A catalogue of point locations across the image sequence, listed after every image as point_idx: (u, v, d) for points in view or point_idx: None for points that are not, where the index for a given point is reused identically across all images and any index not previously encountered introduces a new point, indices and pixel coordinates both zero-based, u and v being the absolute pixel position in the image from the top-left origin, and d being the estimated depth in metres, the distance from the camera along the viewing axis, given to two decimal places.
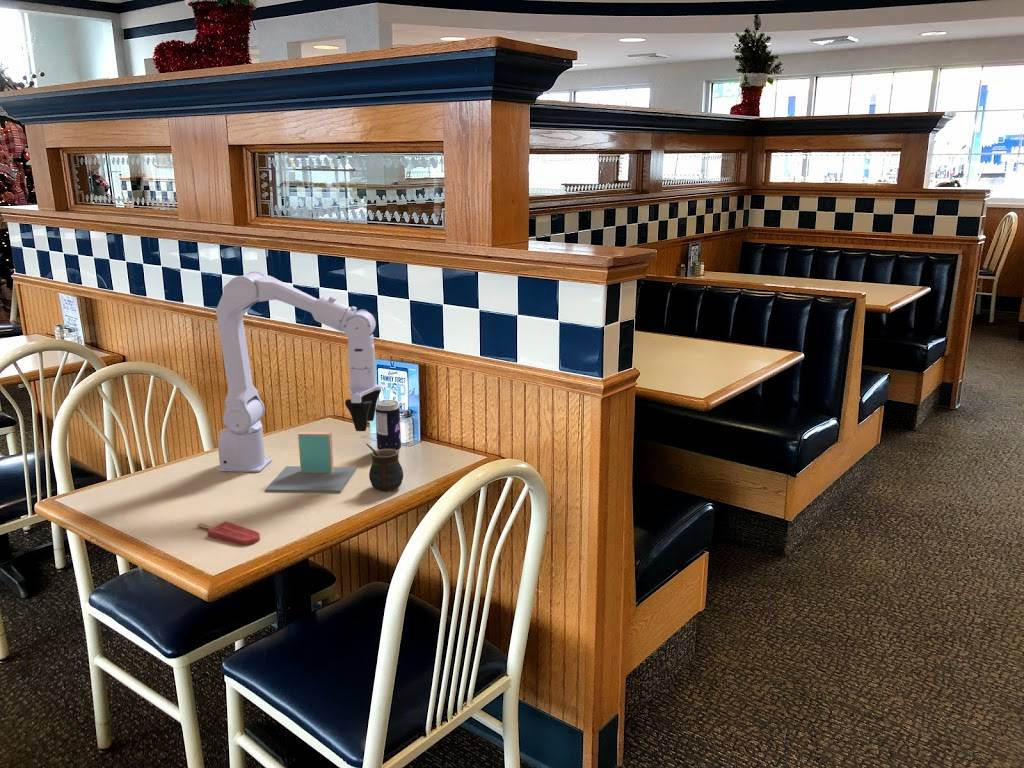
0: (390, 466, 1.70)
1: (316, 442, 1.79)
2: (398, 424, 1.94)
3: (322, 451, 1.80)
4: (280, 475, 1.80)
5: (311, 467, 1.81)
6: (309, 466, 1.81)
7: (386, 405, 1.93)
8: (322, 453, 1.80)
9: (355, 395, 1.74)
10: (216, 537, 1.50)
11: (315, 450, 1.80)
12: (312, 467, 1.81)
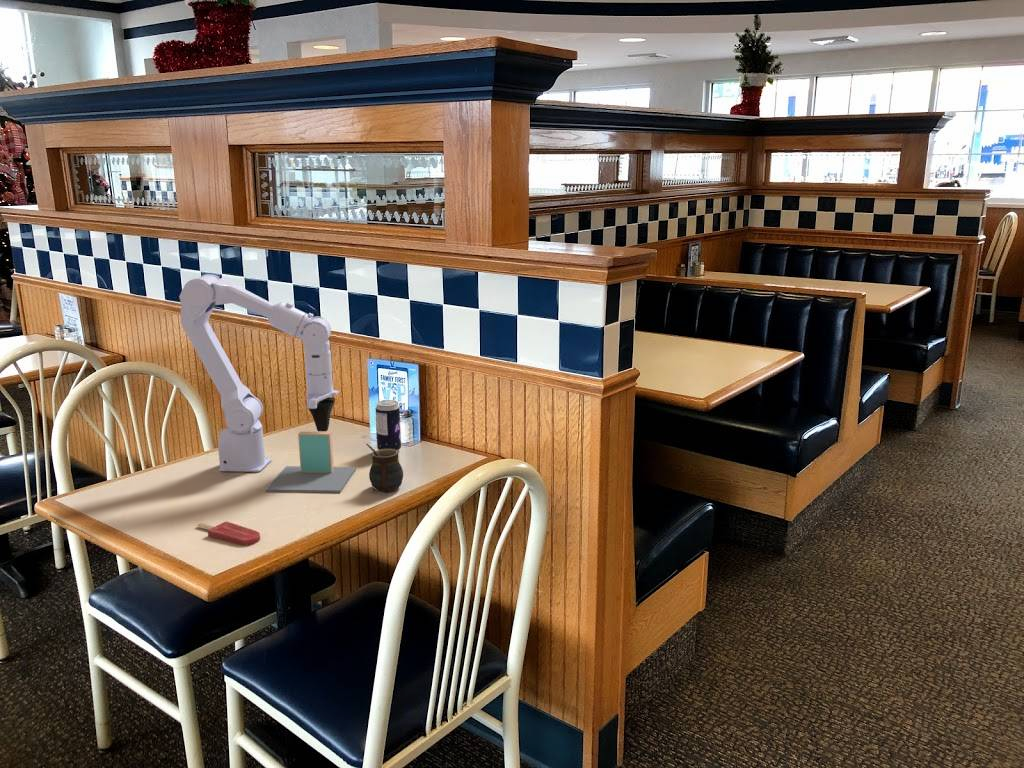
0: (390, 466, 1.70)
1: (316, 442, 1.79)
2: (398, 424, 1.94)
3: (322, 451, 1.80)
4: (280, 475, 1.80)
5: (311, 467, 1.81)
6: (309, 466, 1.81)
7: (386, 405, 1.93)
8: (322, 453, 1.80)
9: (311, 401, 1.77)
10: (216, 537, 1.50)
11: (315, 450, 1.80)
12: (312, 467, 1.81)
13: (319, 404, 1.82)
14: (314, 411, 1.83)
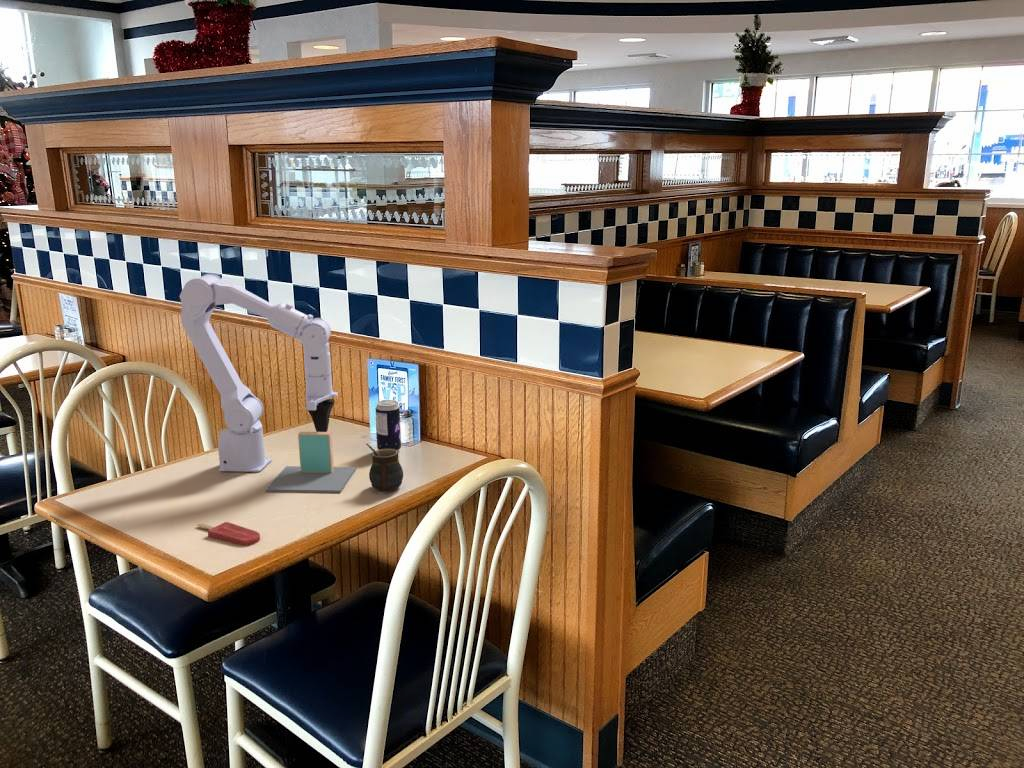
0: (390, 466, 1.70)
1: (316, 442, 1.79)
2: (398, 424, 1.94)
3: (322, 451, 1.80)
4: (280, 475, 1.80)
5: (311, 467, 1.81)
6: (309, 466, 1.81)
7: (386, 405, 1.93)
8: (322, 453, 1.80)
9: (310, 402, 1.76)
10: (216, 537, 1.50)
11: (315, 450, 1.80)
12: (312, 467, 1.81)
13: (318, 406, 1.81)
14: (313, 413, 1.83)
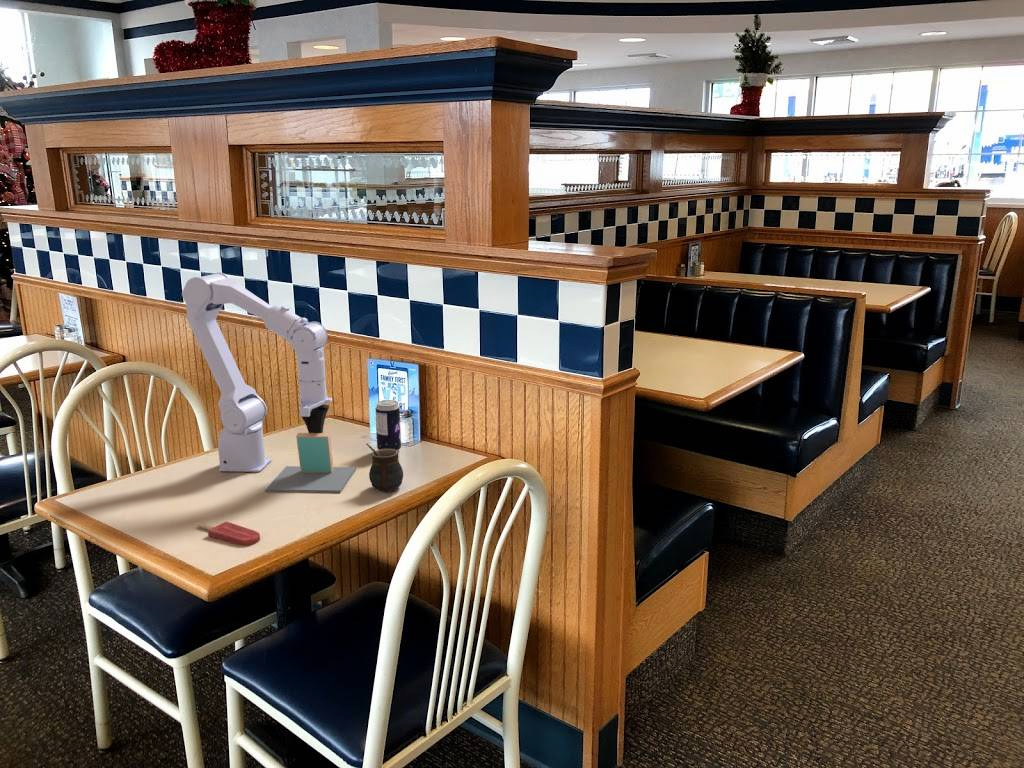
0: (390, 466, 1.70)
1: (315, 444, 1.78)
2: (398, 424, 1.94)
3: (321, 452, 1.79)
4: (280, 475, 1.80)
5: (311, 467, 1.81)
6: (309, 466, 1.81)
7: (386, 405, 1.93)
8: (321, 454, 1.79)
9: (304, 409, 1.72)
10: (216, 537, 1.50)
11: (314, 452, 1.79)
12: (312, 467, 1.81)
13: (312, 412, 1.77)
14: (307, 419, 1.78)
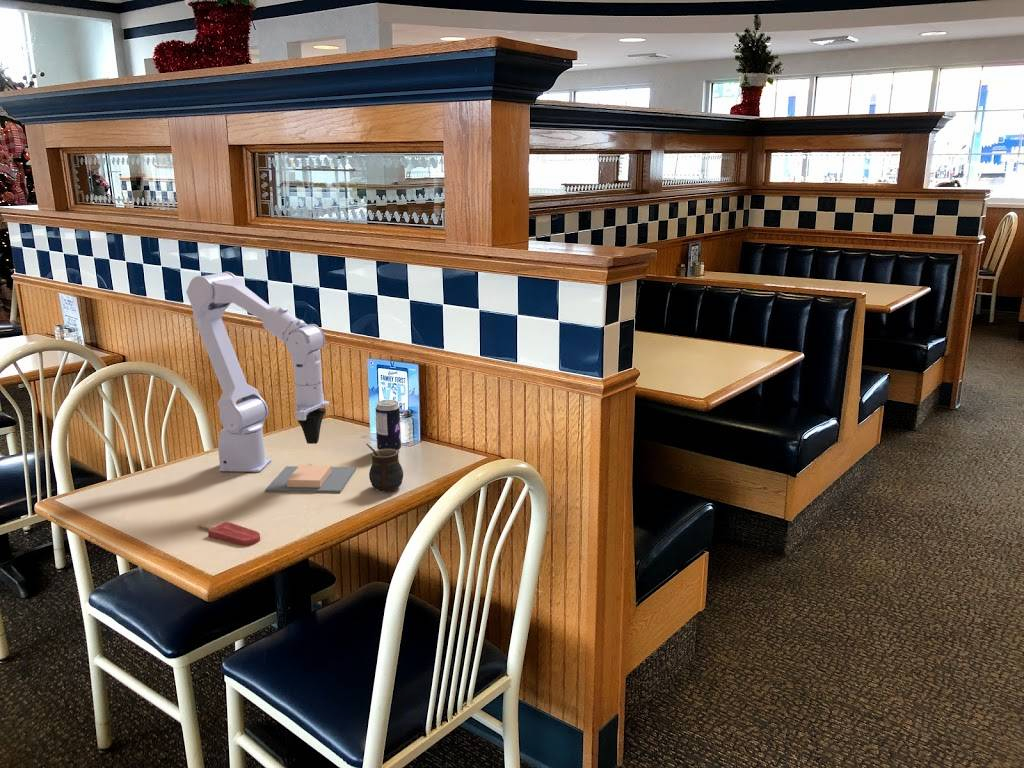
0: (390, 466, 1.70)
1: None
2: (398, 424, 1.94)
3: None
4: (280, 475, 1.80)
5: None
6: None
7: (386, 405, 1.93)
8: None
9: (299, 412, 1.69)
10: (216, 537, 1.50)
11: None
12: None
13: (309, 415, 1.74)
14: (303, 423, 1.76)
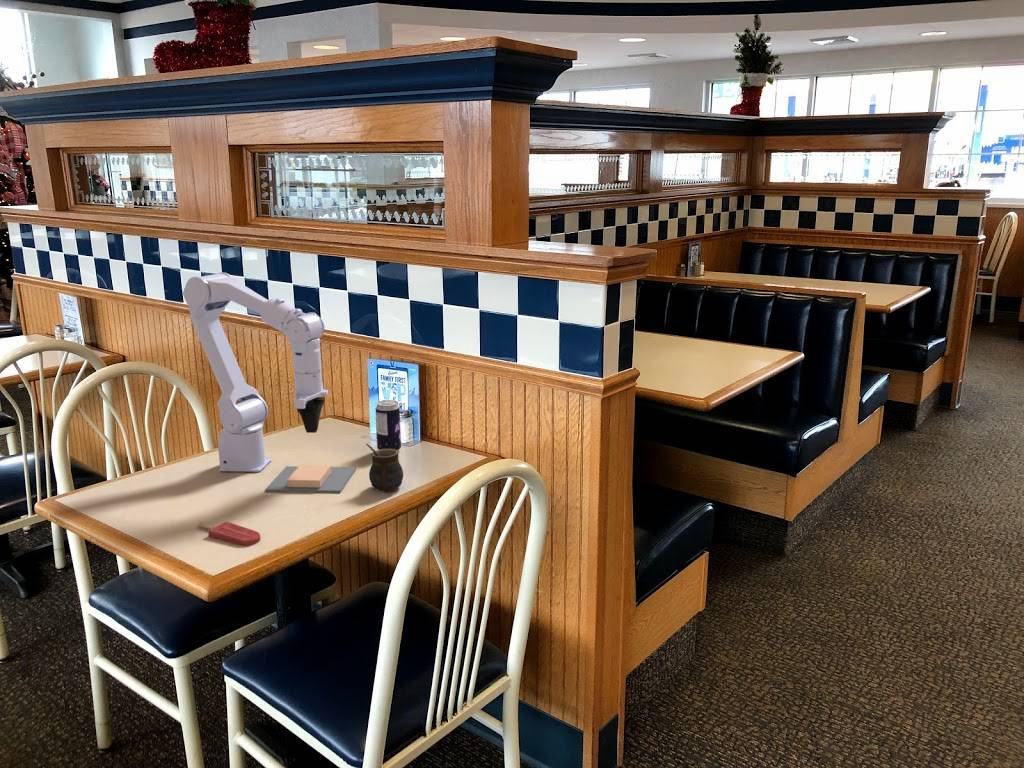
0: (390, 466, 1.70)
1: None
2: (398, 424, 1.94)
3: None
4: (280, 475, 1.80)
5: None
6: None
7: (386, 405, 1.93)
8: None
9: (299, 401, 1.69)
10: (217, 537, 1.50)
11: None
12: None
13: (308, 404, 1.73)
14: (303, 411, 1.75)
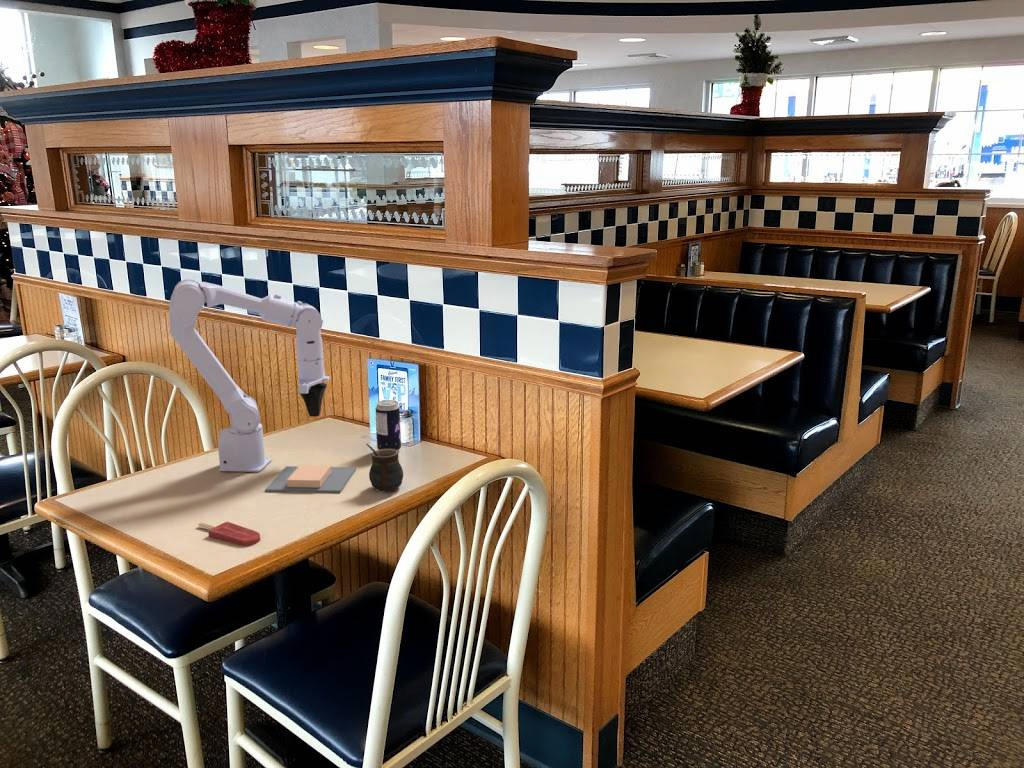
0: (390, 466, 1.70)
1: None
2: (398, 424, 1.94)
3: None
4: (280, 475, 1.80)
5: None
6: None
7: (386, 405, 1.93)
8: None
9: (302, 386, 1.80)
10: (217, 537, 1.50)
11: None
12: None
13: (311, 389, 1.85)
14: (306, 396, 1.87)
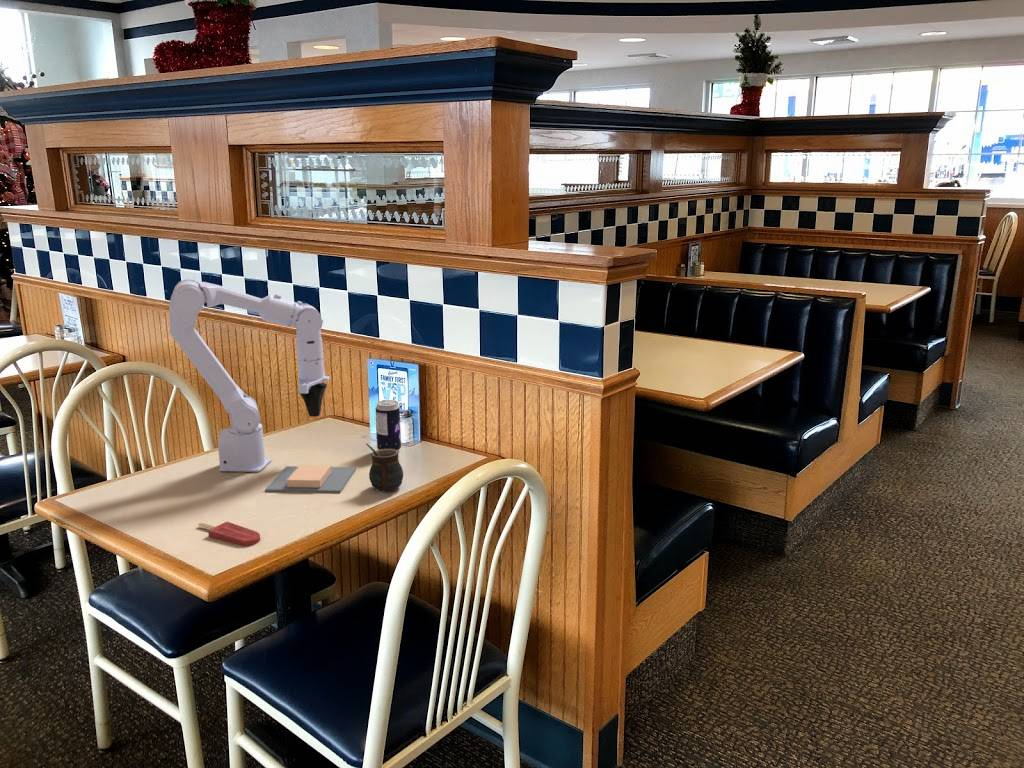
0: (390, 466, 1.70)
1: None
2: (398, 424, 1.94)
3: None
4: (280, 475, 1.80)
5: None
6: None
7: (386, 405, 1.93)
8: None
9: (302, 386, 1.80)
10: (217, 537, 1.50)
11: None
12: None
13: (311, 389, 1.85)
14: (306, 396, 1.87)
